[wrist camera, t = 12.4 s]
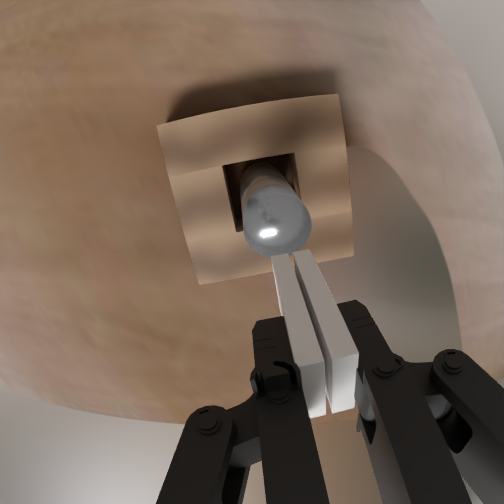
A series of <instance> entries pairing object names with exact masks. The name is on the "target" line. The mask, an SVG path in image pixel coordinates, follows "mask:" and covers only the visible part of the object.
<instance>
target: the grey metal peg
mask: <svg viewBox="0 0 504 504" xmlns="http://www.w3.org/2000/svg"><path fill="white" fill-rule="evenodd" d="M240 195H241V206H242V218H243V229H244V235H245V239H246V241H247V243H248V244H249V246H250V247H251V248H252V249H253V250H254V251H255V252H256V253H258V254H260V255H262V256H264V257H268V258H271V256H275V255H281V254H286V253H288V255H289V256H291V255H293V252H296V251H299V250H300V249H301V248H302V247H303V246H304V245H305V244H306V242H307V241H308V239H309V236H310V234H311V228H312V221H311V217H310V214H309V212H308V210H307V208H306V207H305V205H304V204H303V203H302V201H301V200H300V198H299V197H298V196H297V194H296V193H295V191H294V190H293V189H292V187H291V186H290V185H289V183H288V182H287V181H286V179H285V178H284V177H283V175H282V174H281V173H280V171H279V170H278V169H277V168H276V167H275V166H273V165H271V164H268V163H256V164H253V165H251V166H249V167H248V168H247V169H246V170H245V171H244V172H243V174H242V176H241V179H240Z"/></svg>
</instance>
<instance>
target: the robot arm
mask: <svg viewBox="0 0 504 504" xmlns="http://www.w3.org/2000/svg"><path fill="white" fill-rule="evenodd" d="M293 259H294V266H295V272H294V269H293V266H292V263H291V261H290V258H289V255H288V253H286V254H281V255H275V256H271V260H272V266H273V272H274V277H275V283H276V289H277V295H278V301H279V307H280V311H281V316H280V317H275V318H270V319H264V320H259V321H257V322H256V324H255V326H254V328H253V330H252V336H253V348H254V359H255V368H254V369H253V371H252V372H251V377H250V382H251V385H252V389H253V392H254V393H253V394H252V396H251V397H250V398H249V399H248V400H246V401H245V402H243V403H242V404H240V405H237V406H235V407H233V408H230V409H228V410H226V409H224V408H223V407H219V406H215V405H213V406H205V407H202V408H199V409H197V410H196V411H195V412H193V413H192V414H191V415H190V416H189V418H188V420H187V421H186V424H185V427H184V429H183V432H182V435H181V437H180V440H179V443H178V445H177V449H176V451H175V453H174V456H173V459H172V461H171V464H170V467H169V470H168V472H167V475H166V478H165V480H164V483H163V486H162V489H161V491H160V494H159V496H158V499H157V502H156V504H242V502H243V498H244V493H245V489H246V484H247V479H248V475H249V471H250V466H251V465H252V464H254V463H257V462H259V461H262V467H263V476H264V486H265V494H266V503H267V504H330V503H329V499H328V495H327V490H326V486H325V482H324V477H323V473H322V468H321V464H320V460H319V455H318V451H317V447H316V442H315V438H314V435H313V430H312V426H311V421H310V418H313V417H318V416H323V415H326V395H325V390H326V393H327V397H328V400H329V404H330V407H331V411H332V413H336V412H340V411H344V410H348V409H351V408H354V405H355V401H356V403H357V406H358V409H359V413H358V421H357V432H360V429H361V431H362V434H363V437H364V440H365V443H366V447H367V450H368V453H369V457H370V460H371V463H372V467H373V470H374V474H375V477H376V480H377V484H378V487H379V491H380V494H381V498H382V502H383V504H472V503H471V500H470V497H469V495H468V492H467V490H466V487H465V485H464V482H463V480H462V478H461V476H462V477H463V478H464V479H465V481H466V482H467V483H468V484H469V486H470V487H471V488H472V489H473V491H474V492H475V493H476V495H477V496H478V497H479V498H480V500H481V501H482V502H483V504H504V388H503V387H502V386H501V385H500V384H498V383H497V382H496V381H495V380H494V379H493V378H492V377H491V376H490V375H489V374H488V373H487V372H486V371H484V370H483V369H482V368H481V367H480V366H479V365H478V364H477V363H476V362H475V361H473V360H472V359H471V358H470V357H469V356H468V355H467V354H465V353H463V352H462V351H460V350H455V349H446V350H444V351H441V352H439V353H438V354H437V355H436V356H435V358H434V361H433V362H425V363H410V362H406V361H404V359H403V358H402V357H400V356H398V355H396V354H394V353H392V351H391V350H390V348H389V346H388V344H387V343H386V341H385V339H384V337H383V336H382V334H381V332H380V331H379V328H378V327H377V325H376V324H375V322H374V320H373V318H372V317H371V315H370V313H369V311H368V309H367V308H366V306H364V305H363V304H361V303H360V302H358V301H357V300H353V301H348V302H344V303H339V304H336V302H335V300H334V298H333V296H332V294H331V292H330V290H329V288H328V286H327V284H326V282H325V280H324V278H323V276H322V273H321V271H320V269H319V267H318V265H317V263H316V261H315V259H314V257H313V255H312V253H311V251H310V249H307V250H302V251H296V252H293ZM295 274H296V275H295ZM460 474H461V475H460Z"/></svg>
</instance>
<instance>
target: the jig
mask: <svg viewBox="0 0 504 504" xmlns="http://www.w3.org/2000/svg"><path fill="white" fill-rule="evenodd" d="M157 131H158V135H159V139H160V144H161V148H162V152H163V156H164V160H165V164H166V168H167V172H168V176H169V180H170V184H171V188H172V191H173V195H174V199H175V203H176V206H177V210H178V214H179V217H180V221H181V225H182V228H183V232H184V235H185V239H186V242H187V246H188V249H189V252H190V256H191V259H192V263H193V266H194V269H195V272H196V276H197V279H198V282H199V285H201V284H207V283H213V282H218V281H224V280H230V279H235V278H241V277H246V276H251V275H257V274H262V273H268V272H273V266H272V260H271V258H268V257H264V256H262V255H260V254H258V253H256V252H255V251H254V250H253V249H252V248H251V247H250V246H249V244H248V243H247V241H246V239H245V235H244V229H243V218H242V219H237V220H236V217H235V213H234V208H233V203H232V199H231V194H230V189H229V185H228V180H227V175H226V171H225V166H224V165H227V164H232V163H237V162H242V161H247V160H253V159H258V158H264V157H269V156H275V155H281V154H288V153H289V158H290V165H291V171H292V178H293V184H294V191H295V193H296V194H297V196H298V197H299V198H300V200H301V201H302V203H303V204H304V205H305V207H306V208H307V210H308V212H309V214H310V217H311V221H312V228H311V234H310V236H309V239H308V241H307V242H306V244H305V245H304V246H303V247H302V248H301V249H300V250H299V251H302V250H307V249H310V251H311V253H312V255H313V257H314V259H315V261H316V263H319V262H324V261H330V260H334V259H339V258H344V257H349V256H354V240H353V221H352V207H351V206H352V205H351V192H350V180H349V170H348V160H347V151H346V142H345V134H344V126H343V119H342V112H341V105H340V99H339V94H327V95H317V96H307V97H298V98H290V99H283V100H276V101H269V102H263V103H257V104H251V105H245V106H240V107H234V108H229V109H224V110H219V111H214V112H210V113H205V114H201V115H197V116H192V117H188V118H184V119H180V120H176V121H173V122H169V123H165V124H161V125H158V126H157ZM289 258H290V261H291V263H292V266H293V268H294V267H295V266H294V259H293V255H291V256H289Z"/></svg>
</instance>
